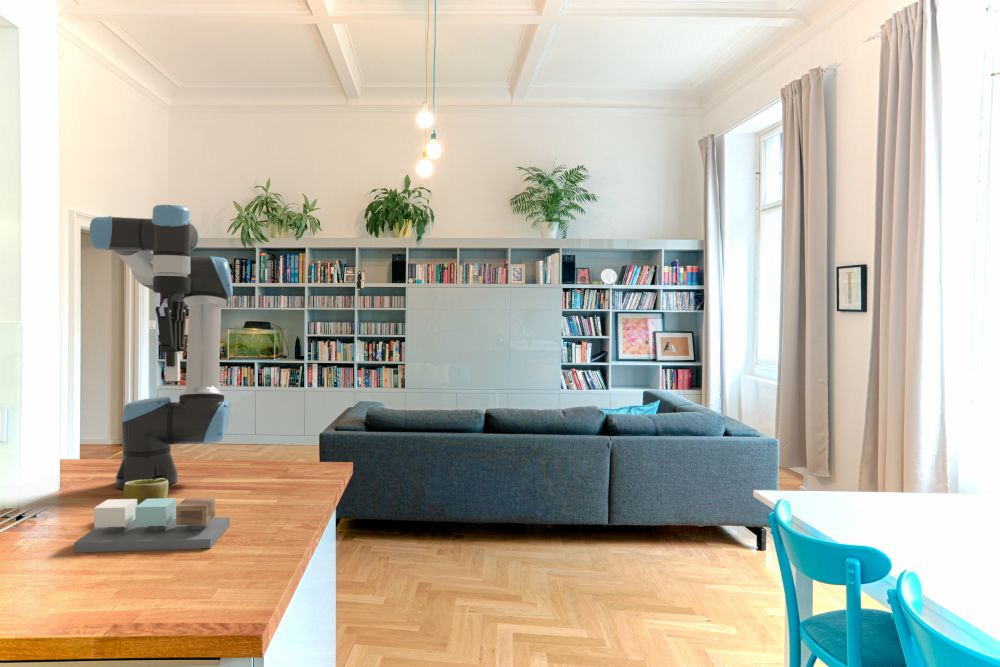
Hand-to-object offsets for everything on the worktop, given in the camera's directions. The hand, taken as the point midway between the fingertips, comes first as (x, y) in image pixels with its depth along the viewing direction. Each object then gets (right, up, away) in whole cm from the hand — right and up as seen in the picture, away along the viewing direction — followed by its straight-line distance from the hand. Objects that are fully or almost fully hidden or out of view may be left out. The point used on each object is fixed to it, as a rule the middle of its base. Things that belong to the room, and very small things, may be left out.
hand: (172, 380), depth 150 cm
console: (+1, -33, -8) cm, 34 cm away
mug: (-9, -32, +8) cm, 35 cm away
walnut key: (+9, -29, -8) cm, 31 cm away
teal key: (+1, -29, -9) cm, 30 cm away
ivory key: (-7, -29, -10) cm, 31 cm away
